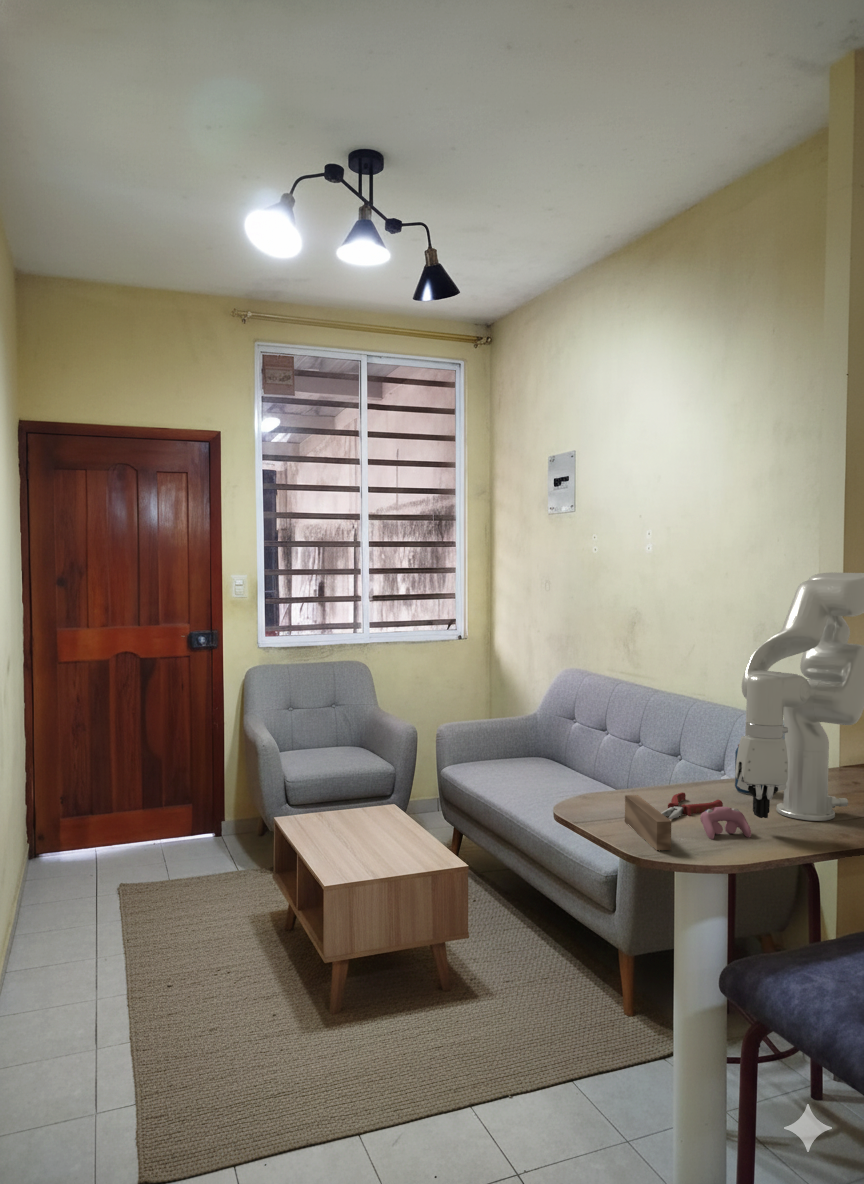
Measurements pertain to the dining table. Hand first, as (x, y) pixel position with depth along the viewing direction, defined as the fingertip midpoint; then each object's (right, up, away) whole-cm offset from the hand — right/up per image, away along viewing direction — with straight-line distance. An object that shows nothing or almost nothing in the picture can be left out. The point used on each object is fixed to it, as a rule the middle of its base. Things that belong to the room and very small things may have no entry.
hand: (760, 816), depth 185 cm
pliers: (-12, -4, +19) cm, 23 cm away
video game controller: (-8, -4, -1) cm, 9 cm away
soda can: (+10, -3, +35) cm, 37 cm away
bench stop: (-25, -4, -2) cm, 26 cm away
